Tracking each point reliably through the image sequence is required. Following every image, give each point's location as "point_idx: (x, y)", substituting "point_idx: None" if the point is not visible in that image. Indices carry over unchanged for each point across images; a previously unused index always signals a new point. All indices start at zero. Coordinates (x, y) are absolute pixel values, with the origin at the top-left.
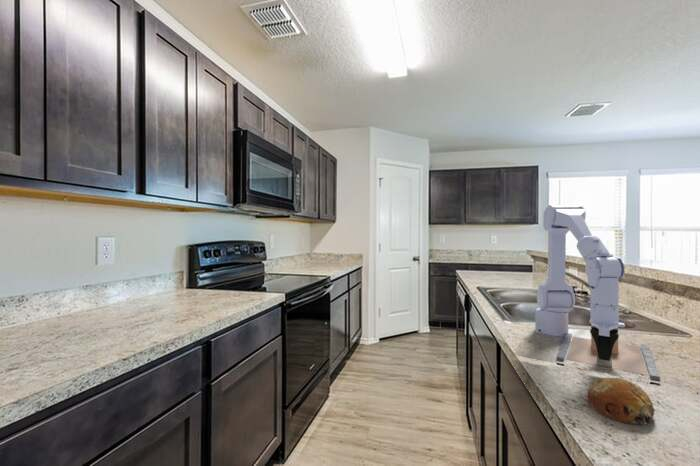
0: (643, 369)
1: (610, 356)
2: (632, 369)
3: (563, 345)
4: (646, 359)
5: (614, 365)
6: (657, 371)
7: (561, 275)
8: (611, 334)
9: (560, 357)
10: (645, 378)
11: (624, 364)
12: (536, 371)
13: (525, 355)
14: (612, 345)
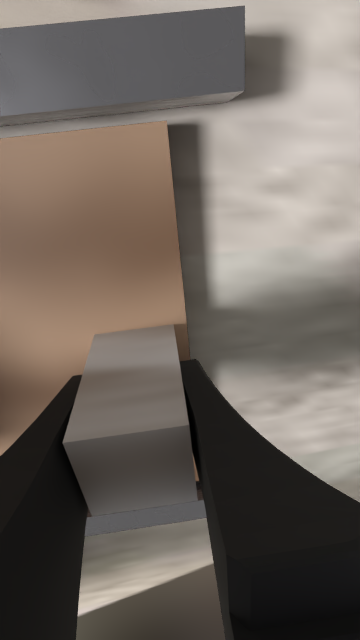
0: (38, 152)
1: (204, 375)
2: (111, 222)
3: None
4: None
5: (119, 318)
6: (88, 25)
7: None
8: (329, 608)
9: None
10: None
11: (39, 275)
12: (356, 492)
13: (204, 551)
14: (265, 444)
